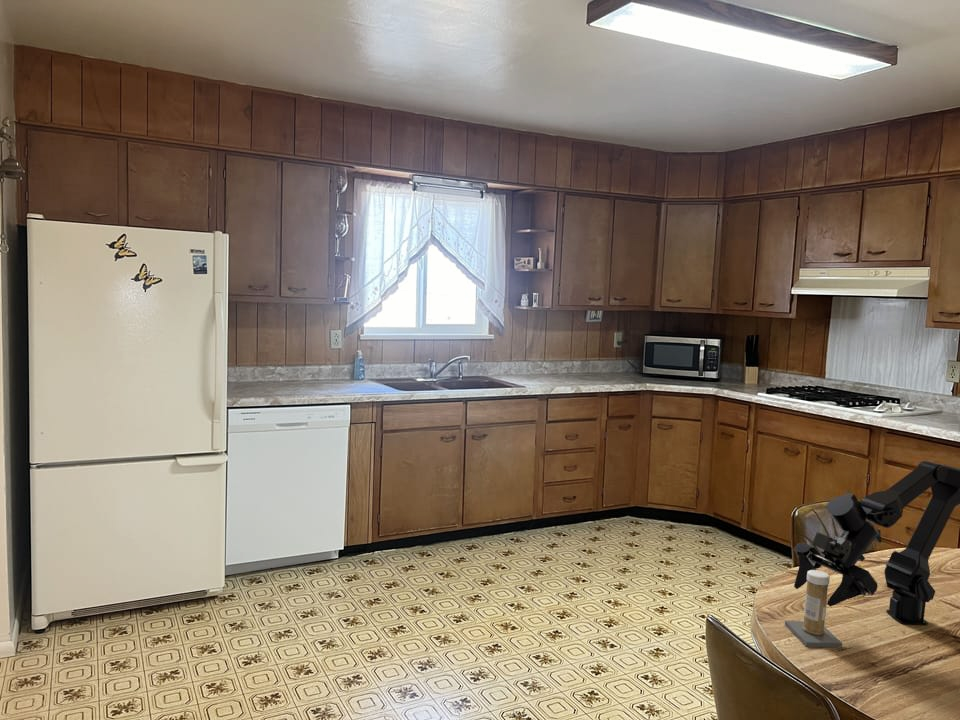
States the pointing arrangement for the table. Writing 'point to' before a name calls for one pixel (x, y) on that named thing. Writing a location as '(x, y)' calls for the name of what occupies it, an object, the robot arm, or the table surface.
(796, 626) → the slate tile
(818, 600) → the sprinkles bottle
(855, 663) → the table surface
